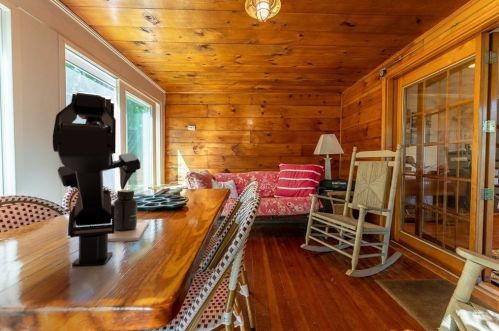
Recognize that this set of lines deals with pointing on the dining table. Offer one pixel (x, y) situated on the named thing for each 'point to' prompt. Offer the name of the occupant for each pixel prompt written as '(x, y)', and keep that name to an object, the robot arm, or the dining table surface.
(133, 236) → the pale grey mat
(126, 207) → the supplement bottle
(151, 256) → the dining table surface
